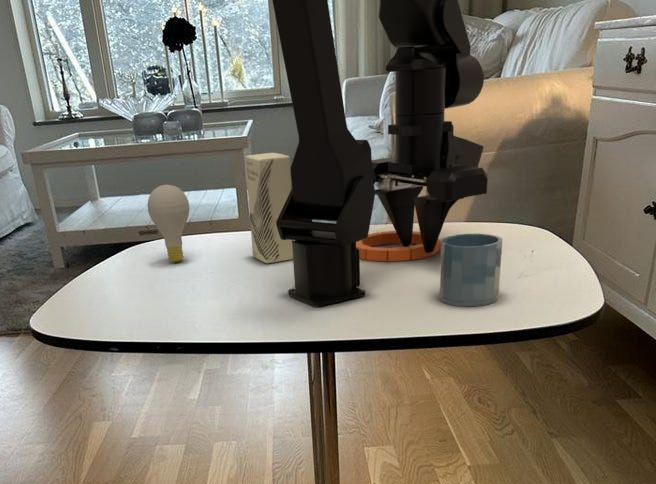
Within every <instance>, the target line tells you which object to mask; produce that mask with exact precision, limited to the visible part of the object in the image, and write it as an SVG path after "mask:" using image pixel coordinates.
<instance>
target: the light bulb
mask: <svg viewBox="0 0 656 484" xmlns="http://www.w3.org/2000/svg"><path fill="white" fill-rule="evenodd" d="M146 207H147V213H148V215H149V217H150V219H151V221H152V222H153V224H154V225H155V226H156V228H157V229H158V230H159V232H160V233H161V235H162V237H163V239H164V244H165V248H166V252H167V258H168V260H169V261H171V262H173V263H175V264H178V263H179V262H180V261H181V260H182V261H183V259H184V258H185V256H184V252H183V251H184V250H183V240H182V238H183V232H184V228H185V227H186V223H187V222H188V218H189V215H190V202H189V200H188V197H187V195H186V194H185V192H184V191H183V190H182V189H181V188H180V187H178V186H176V185H172V184H162V185H160V186H157V187H156V188H154V189H153V190H152V191H151V193H150V194H149V196H148V199H147V206H146Z"/></svg>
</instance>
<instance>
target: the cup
mask: <svg viewBox="0 0 656 484" xmlns="http://www.w3.org/2000/svg"><path fill="white" fill-rule="evenodd" d="M440 247H441V249H440V279H439V281H440V282H439V299H440V301H441V302H443V303H445V304H447V305H451V306H456V307H479V306H486V305H490V304H493V303H495V302H497V301H498V299H499V293H500V279H501V264H502V251H503V238H502V237H501V236H498V235H494V234H489V233H488V234H486V233H461V234H454V235H449V236H447V237H444V238H443V239H442V240H441V246H440Z"/></svg>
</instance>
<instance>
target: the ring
mask: <svg viewBox="0 0 656 484" xmlns="http://www.w3.org/2000/svg"><path fill="white" fill-rule="evenodd" d="M391 244H392V245H393V244H401V242H400V239H399V237H398V235H397V233H396V231H395V230H391V231H380V232H379V231H377V232H373V233H368V237H367V238H365V239H363V240H360V241H357V242H356V248H357V249H358V250H359V255H360V259H361V260H363V261H370V262H371V261H373V262H390V263H391V262H405V261H414V260H419V259H424V258H429V257H432V256H433V255H434V254H436V253H437V252H439V251H440V239H439V238H438V240H437V243H436V246H435V249H434V251H433V252H430V253H426V252H425V250H424V247H423V243H422V239H421V234H420V231H416V230H413V234H412V241H411V245H410V246H407V247H403V246H402V247H378V246H380V245H391Z"/></svg>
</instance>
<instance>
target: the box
mask: <svg viewBox="0 0 656 484" xmlns="http://www.w3.org/2000/svg"><path fill="white" fill-rule="evenodd" d="M244 158H245V169H246V170H245V171H246V182H247V195H248V209H249V210H248V211H249V221H250V223H249V224H250V234H251V235H250V236H251V247H252V248H251V249H252V256H253V257H254V258H255V259H256V260H258V261H261V262H262V263H264V264H272V263H279V262H285V261H286V262H287V261H291V260H293V250H292V241H295V240H281V238H280V235H279V232H278V229H277V226H276V221H277V219H278V217H279V215H280V212H281V210H282V208H283V206H284V204H285V202H286V200H287V198H288V196H289V194H290V191H291V189H292V182H291V172H290V167H291V157H290V156H289V155H285V154H284V153H283V154H282V153H277V152H267V153H257V154H249V155H245V157H244Z"/></svg>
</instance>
